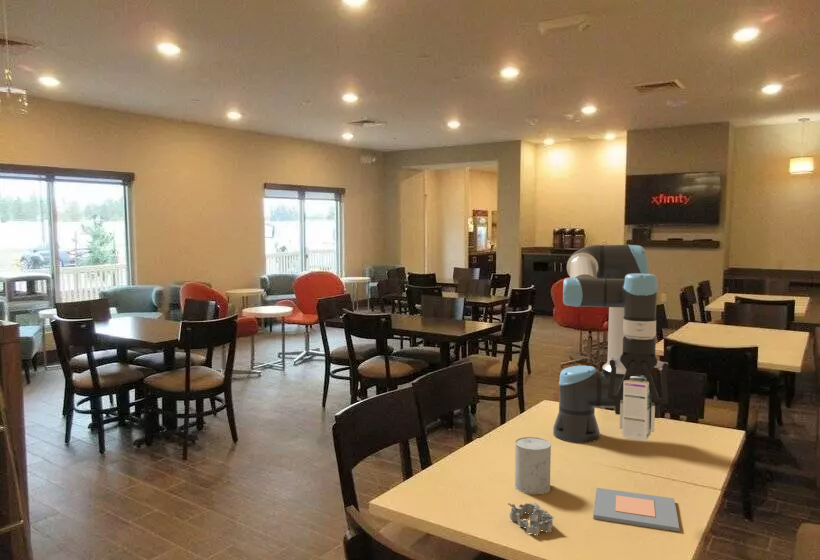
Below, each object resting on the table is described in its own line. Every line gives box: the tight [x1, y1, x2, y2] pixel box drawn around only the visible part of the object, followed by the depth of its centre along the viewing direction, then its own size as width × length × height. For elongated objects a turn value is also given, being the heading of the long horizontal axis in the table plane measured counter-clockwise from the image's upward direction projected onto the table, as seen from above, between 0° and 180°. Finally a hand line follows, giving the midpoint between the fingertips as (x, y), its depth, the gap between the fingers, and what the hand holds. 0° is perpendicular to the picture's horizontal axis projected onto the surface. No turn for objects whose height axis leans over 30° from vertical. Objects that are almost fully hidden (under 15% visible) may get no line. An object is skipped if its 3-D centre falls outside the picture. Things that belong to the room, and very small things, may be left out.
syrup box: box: [621, 376, 652, 442], centre depth 147 cm, size 6×6×14 cm
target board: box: [592, 487, 680, 532], centre depth 148 cm, size 19×16×1 cm
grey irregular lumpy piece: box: [507, 502, 556, 535], centre depth 141 cm, size 11×8×4 cm
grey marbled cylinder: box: [514, 436, 552, 495], centre depth 161 cm, size 10×10×12 cm
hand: (636, 428), depth 147 cm, fingers closed on syrup box, 6 cm apart
